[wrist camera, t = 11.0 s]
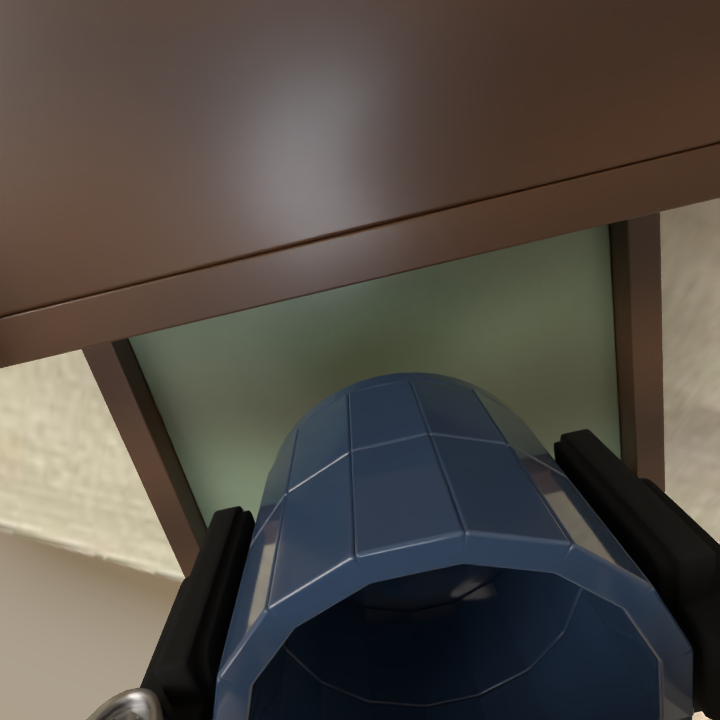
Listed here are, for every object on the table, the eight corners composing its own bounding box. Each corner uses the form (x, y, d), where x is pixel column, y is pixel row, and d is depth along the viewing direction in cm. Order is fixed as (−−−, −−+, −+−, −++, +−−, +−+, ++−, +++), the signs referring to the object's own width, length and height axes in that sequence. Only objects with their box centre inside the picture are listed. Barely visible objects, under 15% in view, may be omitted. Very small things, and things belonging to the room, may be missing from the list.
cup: (525, 340, 11) (697, 481, 6) (554, 575, 13) (694, 830, 8) (230, 408, 11) (135, 602, 6) (308, 627, 13) (289, 906, 8)
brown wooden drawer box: (60, 70, 18) (-430, -129, 6) (550, -59, 17) (964, -546, 6) (226, 497, 24) (125, 771, 13) (587, 418, 23) (817, 637, 12)
